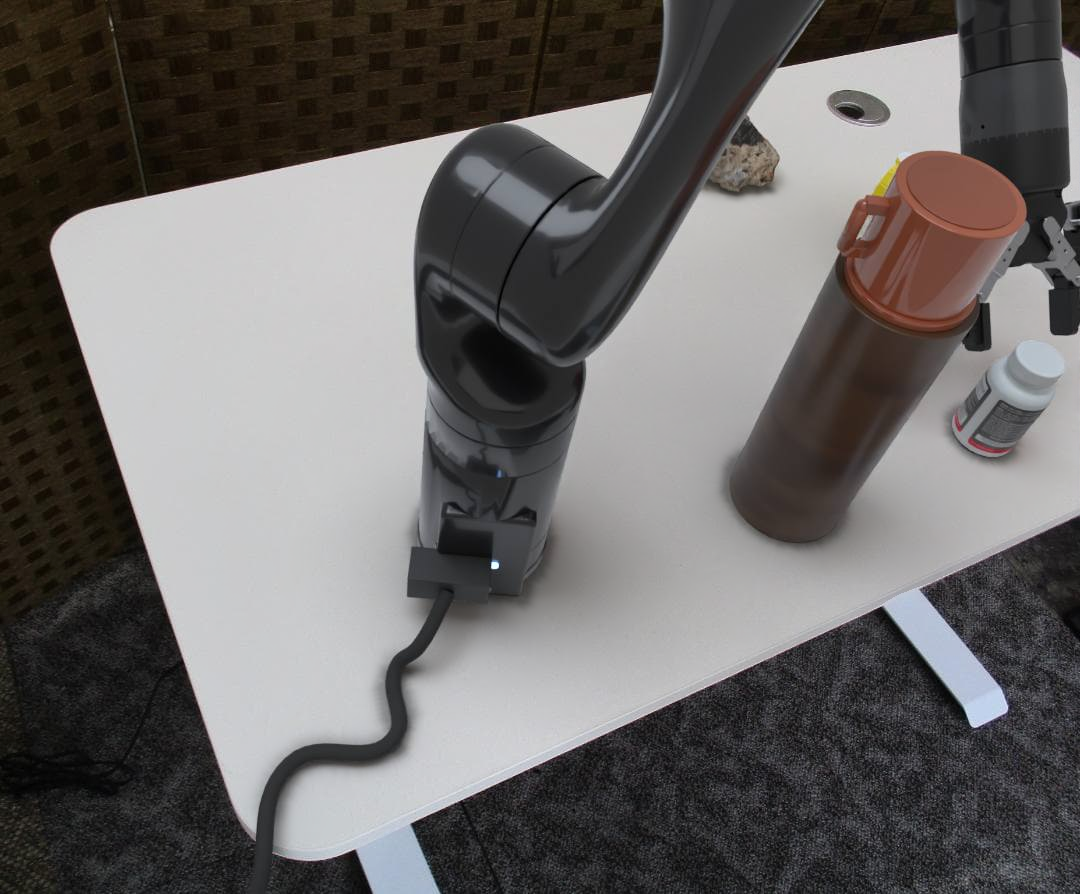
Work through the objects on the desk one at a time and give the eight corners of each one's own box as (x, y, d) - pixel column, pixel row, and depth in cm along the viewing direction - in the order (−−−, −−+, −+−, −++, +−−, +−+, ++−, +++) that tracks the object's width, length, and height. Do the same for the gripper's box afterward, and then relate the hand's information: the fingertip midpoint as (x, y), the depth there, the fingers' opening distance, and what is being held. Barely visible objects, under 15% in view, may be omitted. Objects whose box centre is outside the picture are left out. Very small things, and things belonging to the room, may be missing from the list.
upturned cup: (986, 339, 58) (1051, 248, 53) (832, 321, 57) (881, 227, 52) (956, 247, 63) (1012, 154, 57) (813, 229, 62) (856, 134, 57)
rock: (752, 122, 106) (698, 74, 99) (804, 134, 101) (751, 83, 94) (713, 198, 107) (657, 155, 100) (762, 213, 102) (707, 169, 95)
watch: (877, 225, 100) (901, 177, 96) (857, 209, 102) (880, 161, 97) (914, 207, 103) (940, 160, 98) (895, 191, 104) (919, 144, 100)
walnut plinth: (848, 548, 76) (996, 346, 58) (734, 537, 76) (847, 329, 57) (831, 454, 82) (961, 242, 63) (725, 443, 81) (825, 225, 63)
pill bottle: (1024, 444, 85) (1089, 369, 77) (983, 468, 83) (1046, 394, 75) (977, 400, 88) (1035, 324, 80) (937, 423, 85) (992, 346, 78)
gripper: (972, 132, 70) (983, 359, 73) (1127, 115, 74) (1132, 330, 77) (903, 148, 77) (915, 354, 80) (1048, 131, 82) (1055, 328, 85)
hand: (1022, 342), depth 79 cm, fingers open, 8 cm apart
